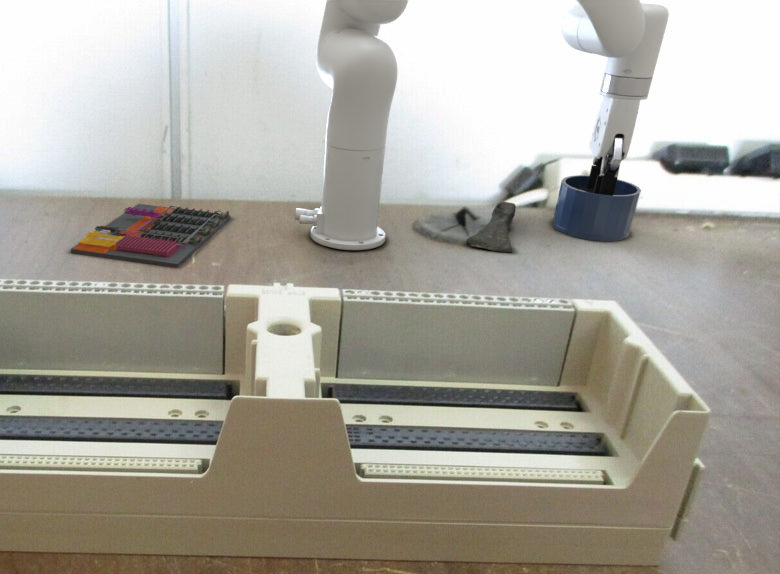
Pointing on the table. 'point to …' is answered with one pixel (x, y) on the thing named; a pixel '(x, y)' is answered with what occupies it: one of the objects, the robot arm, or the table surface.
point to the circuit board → (153, 235)
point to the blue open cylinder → (595, 210)
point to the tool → (495, 230)
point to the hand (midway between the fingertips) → (599, 192)
